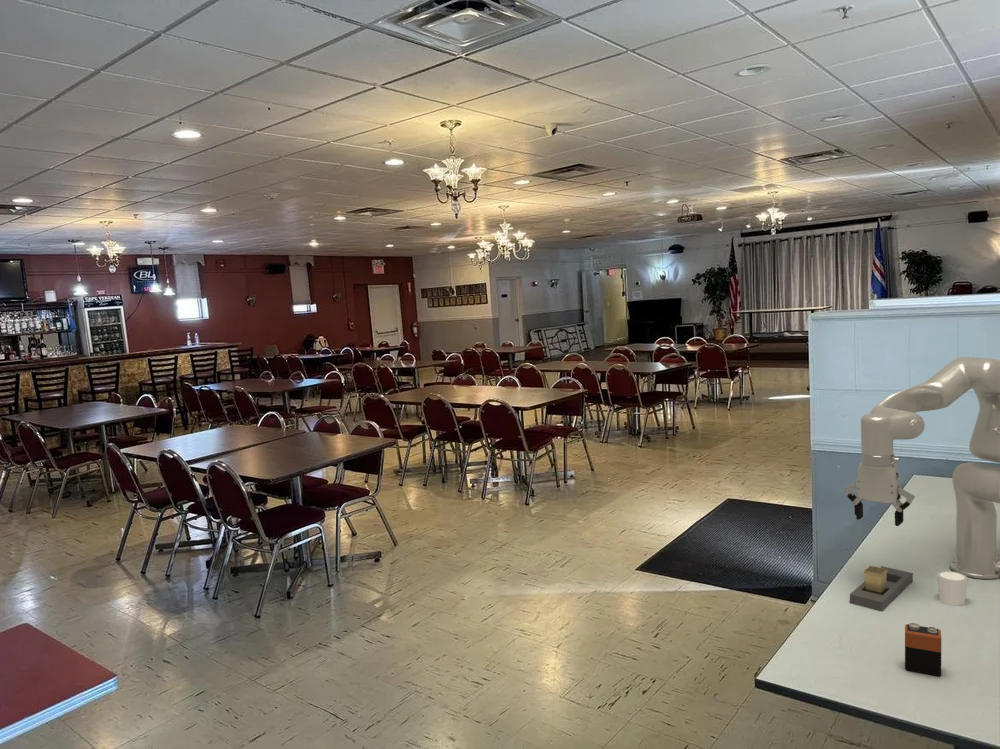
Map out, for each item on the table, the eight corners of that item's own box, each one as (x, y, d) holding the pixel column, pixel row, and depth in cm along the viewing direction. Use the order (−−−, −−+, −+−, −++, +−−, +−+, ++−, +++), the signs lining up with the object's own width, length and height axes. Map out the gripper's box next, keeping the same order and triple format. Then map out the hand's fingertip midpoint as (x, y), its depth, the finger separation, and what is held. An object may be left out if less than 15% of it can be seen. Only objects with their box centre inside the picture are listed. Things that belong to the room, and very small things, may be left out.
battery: (905, 661, 158) (904, 619, 157) (940, 667, 154) (940, 624, 153) (904, 670, 154) (904, 627, 153) (941, 677, 151) (941, 633, 149)
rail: (912, 581, 197) (912, 572, 197) (882, 611, 181) (882, 602, 181) (882, 574, 203) (882, 566, 203) (849, 602, 187) (849, 594, 187)
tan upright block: (887, 597, 189) (887, 569, 188) (881, 603, 186) (881, 574, 185) (870, 593, 192) (870, 565, 191) (864, 598, 189) (864, 570, 188)
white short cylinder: (963, 596, 186) (963, 571, 186) (971, 607, 180) (971, 581, 179) (933, 594, 189) (933, 569, 188) (940, 605, 182) (940, 580, 182)
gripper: (918, 460, 183) (918, 523, 185) (848, 453, 196) (850, 512, 198) (908, 467, 178) (909, 531, 180) (838, 459, 191) (840, 519, 193)
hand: (878, 521), depth 189 cm, fingers open, 9 cm apart
